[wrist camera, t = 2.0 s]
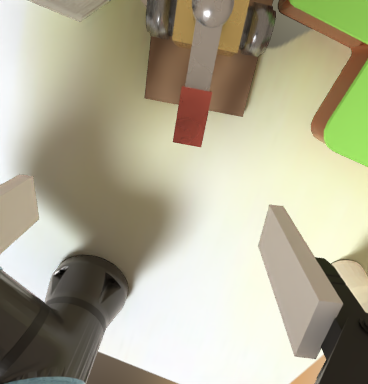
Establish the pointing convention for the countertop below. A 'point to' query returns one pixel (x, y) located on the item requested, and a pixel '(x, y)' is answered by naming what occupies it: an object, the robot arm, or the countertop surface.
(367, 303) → the cup
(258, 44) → the valve
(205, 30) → the lever
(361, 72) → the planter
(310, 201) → the countertop surface
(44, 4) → the supplement box
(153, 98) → the board
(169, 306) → the countertop surface
